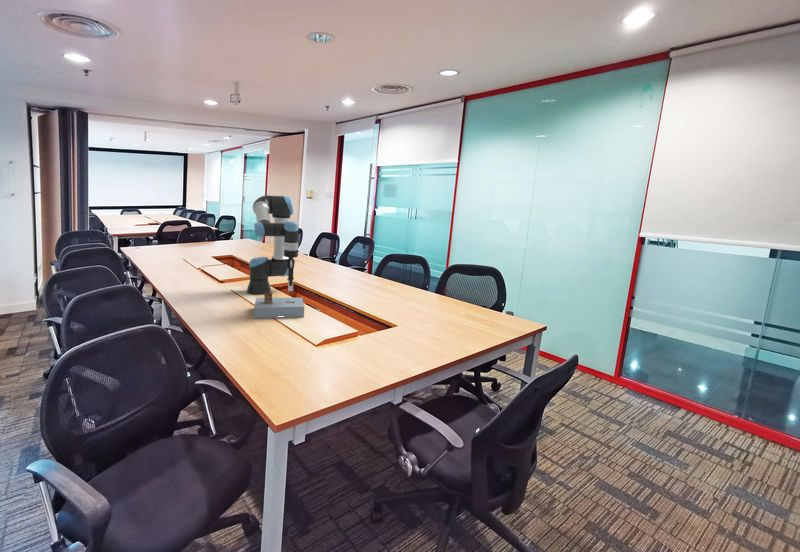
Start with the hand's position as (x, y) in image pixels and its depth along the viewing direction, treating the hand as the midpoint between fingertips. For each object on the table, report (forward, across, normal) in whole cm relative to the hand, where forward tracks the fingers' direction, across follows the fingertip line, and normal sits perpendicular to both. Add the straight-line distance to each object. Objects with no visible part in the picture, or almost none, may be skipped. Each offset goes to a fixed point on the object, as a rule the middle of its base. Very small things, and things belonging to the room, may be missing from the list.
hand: (290, 290), depth 225 cm
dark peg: (+8, +1, -12) cm, 14 cm away
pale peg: (+12, +1, 0) cm, 12 cm away
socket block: (+13, +1, -6) cm, 14 cm away
